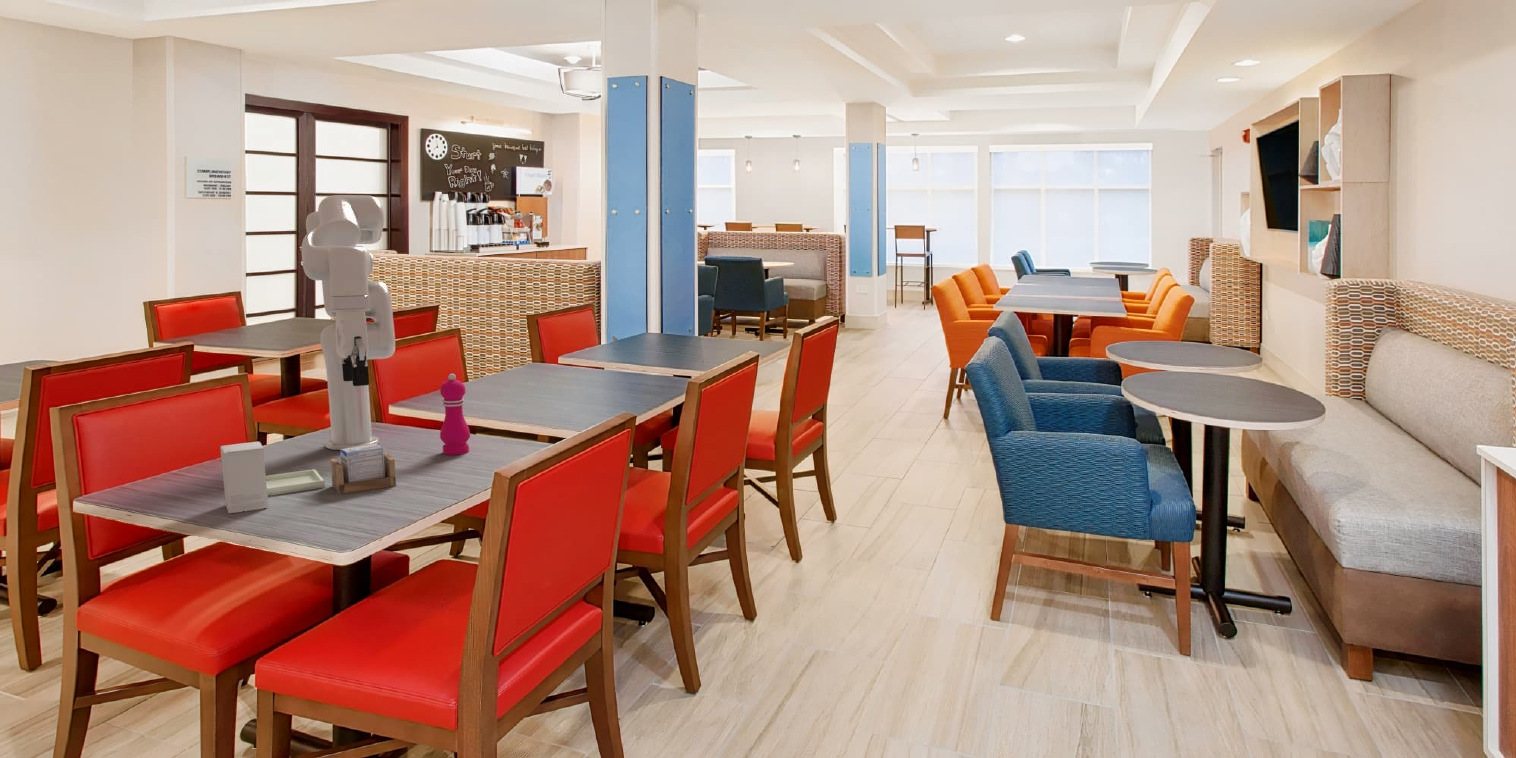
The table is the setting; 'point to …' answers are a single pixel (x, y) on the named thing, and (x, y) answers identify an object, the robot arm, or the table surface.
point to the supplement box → (244, 477)
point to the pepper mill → (454, 418)
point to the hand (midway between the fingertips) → (356, 383)
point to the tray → (294, 482)
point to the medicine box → (362, 463)
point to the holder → (365, 484)
